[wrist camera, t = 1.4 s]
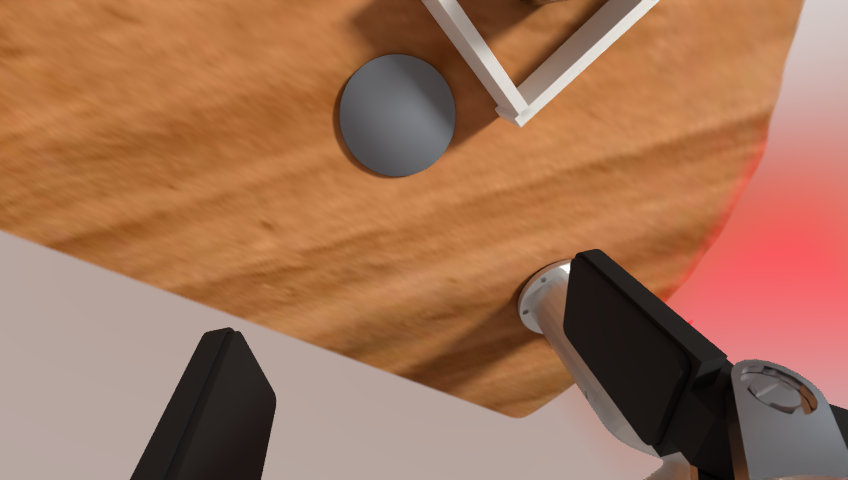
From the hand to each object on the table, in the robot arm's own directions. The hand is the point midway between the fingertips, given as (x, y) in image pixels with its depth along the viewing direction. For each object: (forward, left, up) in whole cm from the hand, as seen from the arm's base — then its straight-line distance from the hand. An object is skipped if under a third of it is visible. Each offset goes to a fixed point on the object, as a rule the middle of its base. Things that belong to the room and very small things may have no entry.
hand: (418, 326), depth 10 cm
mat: (-1, -2, -27) cm, 27 cm away
